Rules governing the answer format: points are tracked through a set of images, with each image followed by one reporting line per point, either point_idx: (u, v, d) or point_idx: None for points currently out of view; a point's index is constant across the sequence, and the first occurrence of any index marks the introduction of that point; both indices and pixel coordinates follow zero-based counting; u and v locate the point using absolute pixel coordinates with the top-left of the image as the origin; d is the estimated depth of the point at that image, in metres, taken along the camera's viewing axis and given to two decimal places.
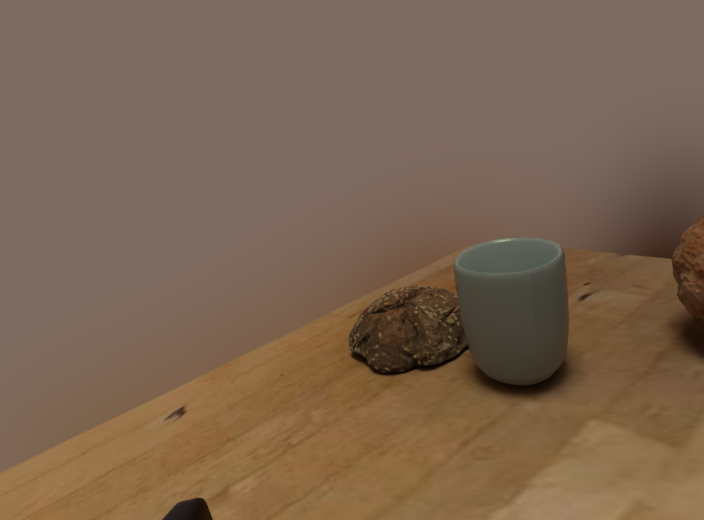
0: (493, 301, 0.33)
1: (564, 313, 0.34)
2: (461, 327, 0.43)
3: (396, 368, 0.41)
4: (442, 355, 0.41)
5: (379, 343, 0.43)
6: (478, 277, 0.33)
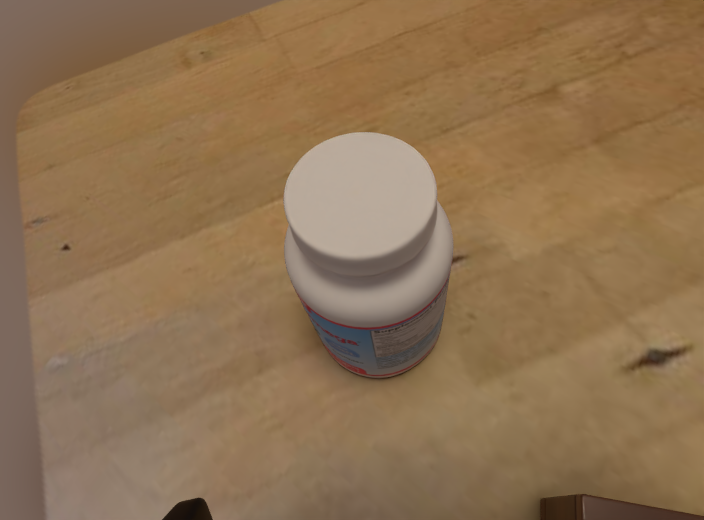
0: None
1: None
2: None
3: None
4: None
5: None
6: None
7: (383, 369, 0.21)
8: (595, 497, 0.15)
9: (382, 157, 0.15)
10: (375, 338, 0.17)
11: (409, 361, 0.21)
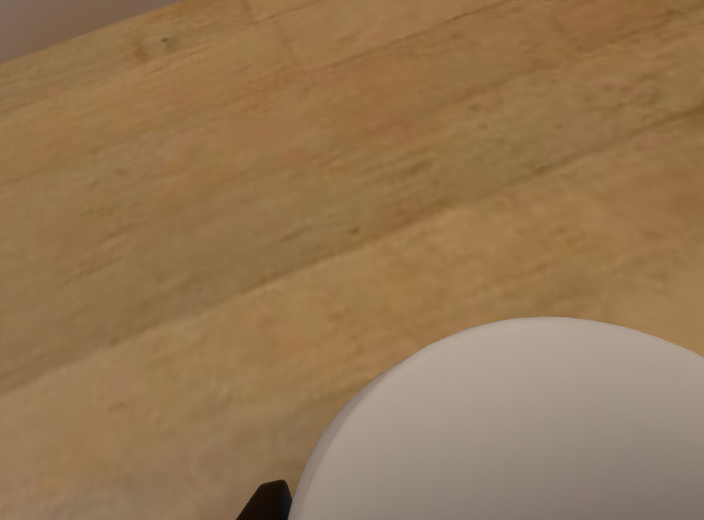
0: None
1: None
2: None
3: None
4: None
5: None
6: None
7: None
8: None
9: (667, 445, 0.04)
10: None
11: None
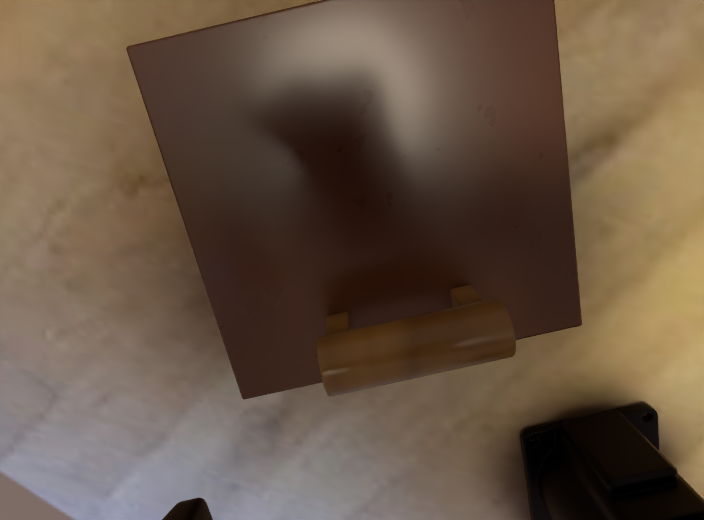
0: None
1: None
2: None
3: None
4: None
5: None
6: None
7: None
8: (140, 44, 0.13)
9: None
10: None
11: None
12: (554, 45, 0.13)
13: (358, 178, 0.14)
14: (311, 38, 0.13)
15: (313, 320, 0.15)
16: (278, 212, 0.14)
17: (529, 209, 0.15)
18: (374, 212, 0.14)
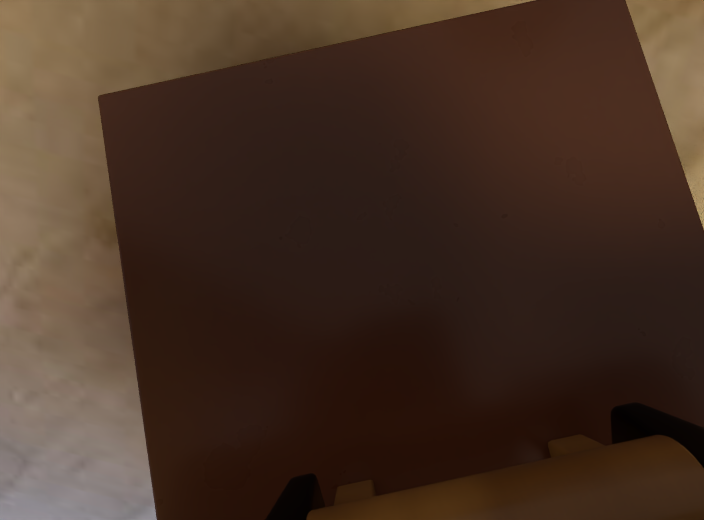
0: None
1: None
2: None
3: None
4: None
5: None
6: None
7: None
8: (116, 92, 0.10)
9: None
10: None
11: None
12: (649, 84, 0.10)
13: (389, 256, 0.10)
14: (327, 82, 0.10)
15: None
16: (269, 306, 0.10)
17: (659, 306, 0.09)
18: (414, 308, 0.09)
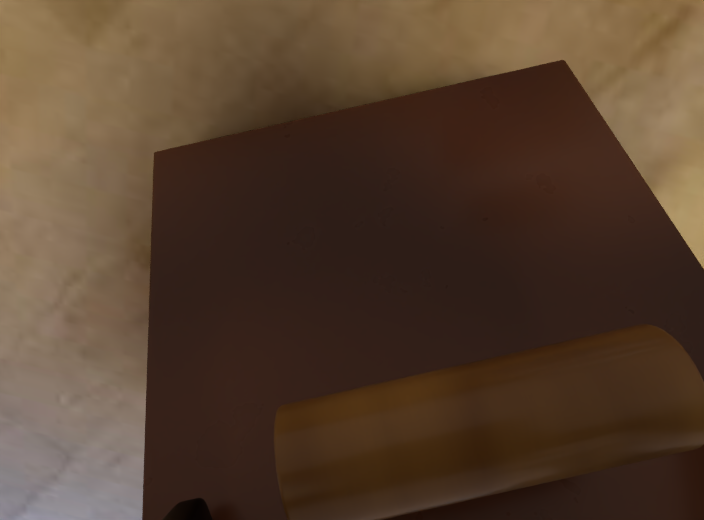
0: None
1: None
2: None
3: None
4: None
5: None
6: None
7: None
8: (168, 149, 0.13)
9: None
10: None
11: None
12: (600, 121, 0.12)
13: (382, 254, 0.11)
14: (333, 133, 0.13)
15: None
16: (273, 297, 0.10)
17: (643, 286, 0.10)
18: (406, 295, 0.10)
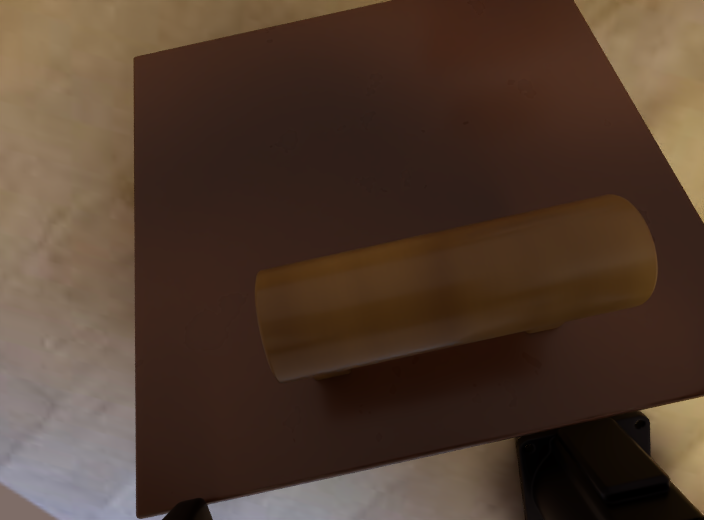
0: None
1: None
2: None
3: None
4: None
5: None
6: None
7: None
8: (148, 54, 0.13)
9: None
10: None
11: None
12: (584, 27, 0.12)
13: (364, 156, 0.11)
14: (316, 39, 0.12)
15: None
16: (257, 197, 0.11)
17: (613, 185, 0.10)
18: (386, 194, 0.10)
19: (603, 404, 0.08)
